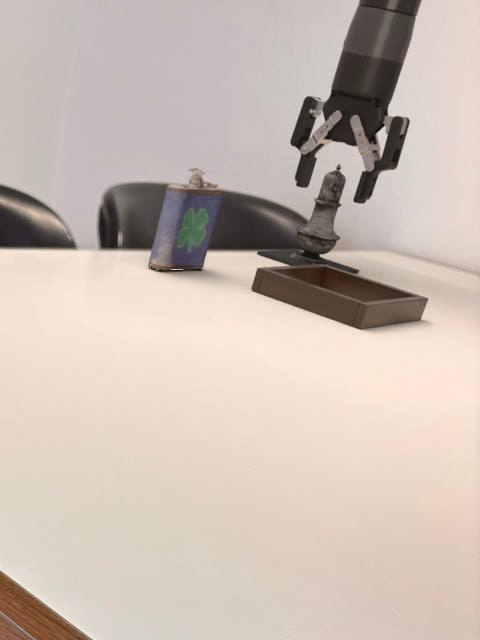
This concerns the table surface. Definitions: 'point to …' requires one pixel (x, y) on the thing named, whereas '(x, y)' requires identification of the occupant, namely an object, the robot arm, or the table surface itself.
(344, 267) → the mat
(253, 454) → the table surface
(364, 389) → the table surface
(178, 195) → the flask
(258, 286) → the tray
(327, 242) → the salt shaker
